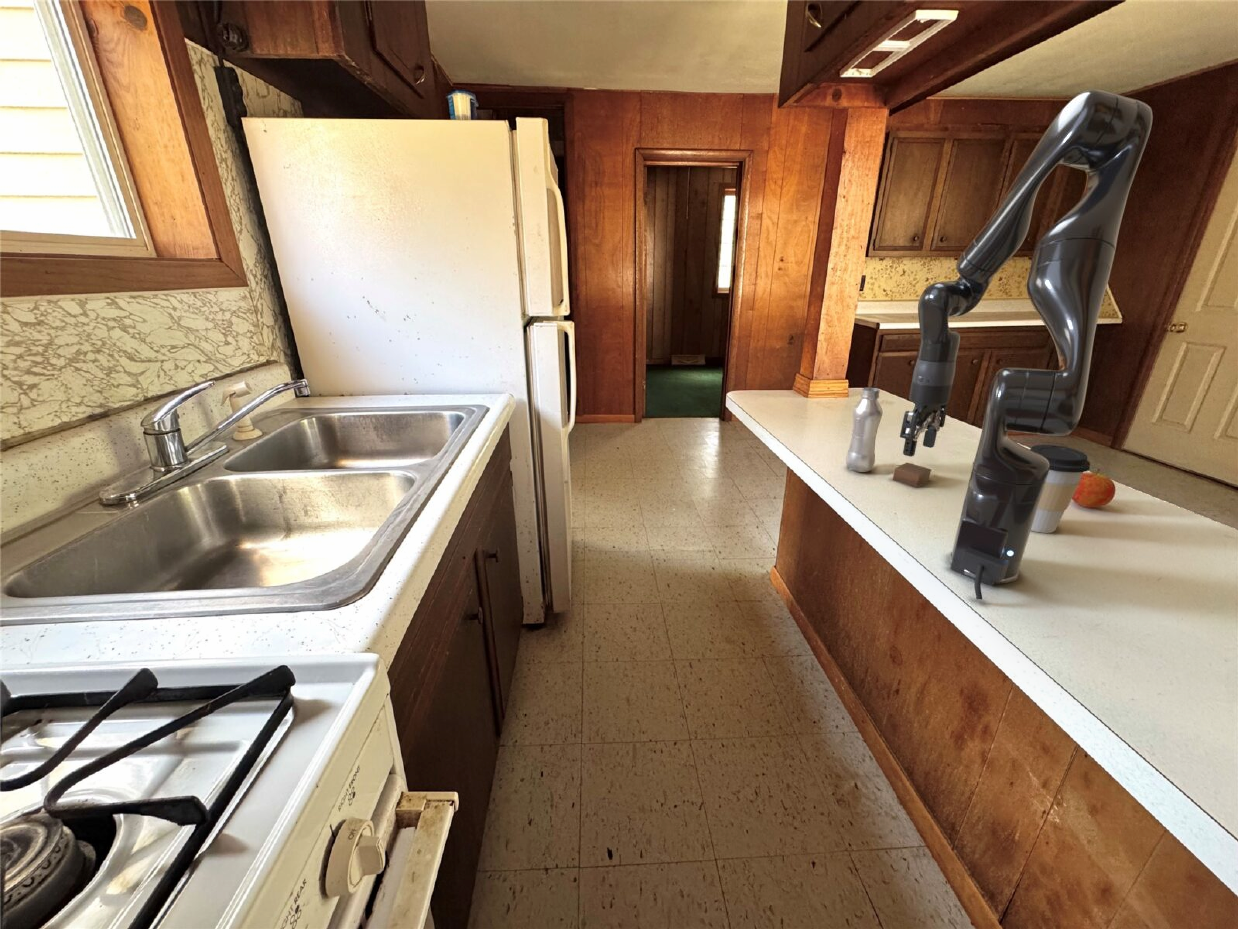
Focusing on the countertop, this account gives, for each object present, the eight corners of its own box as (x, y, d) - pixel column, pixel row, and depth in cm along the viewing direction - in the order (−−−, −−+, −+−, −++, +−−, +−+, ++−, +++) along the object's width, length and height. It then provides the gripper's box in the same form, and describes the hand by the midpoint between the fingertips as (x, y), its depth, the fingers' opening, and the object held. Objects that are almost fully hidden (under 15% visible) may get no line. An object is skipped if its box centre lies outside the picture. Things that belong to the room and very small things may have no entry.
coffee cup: (1050, 515, 100) (1073, 444, 95) (1079, 540, 92) (1106, 462, 86) (996, 512, 102) (1015, 442, 96) (1020, 536, 94) (1042, 460, 88)
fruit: (1095, 516, 99) (1108, 478, 96) (1055, 502, 105) (1067, 466, 102) (1116, 509, 102) (1130, 472, 99) (1076, 495, 108) (1088, 460, 105)
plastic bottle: (844, 473, 123) (856, 392, 115) (844, 463, 128) (855, 385, 121) (874, 476, 120) (887, 393, 113) (872, 466, 126) (885, 386, 119)
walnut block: (916, 487, 114) (919, 475, 113) (892, 480, 118) (894, 468, 117) (928, 481, 117) (931, 469, 116) (904, 474, 121) (907, 462, 120)
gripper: (933, 389, 102) (919, 463, 108) (967, 377, 109) (951, 448, 116) (896, 382, 108) (884, 453, 114) (931, 372, 115) (918, 439, 121)
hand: (918, 450), depth 115 cm, fingers open, 8 cm apart
